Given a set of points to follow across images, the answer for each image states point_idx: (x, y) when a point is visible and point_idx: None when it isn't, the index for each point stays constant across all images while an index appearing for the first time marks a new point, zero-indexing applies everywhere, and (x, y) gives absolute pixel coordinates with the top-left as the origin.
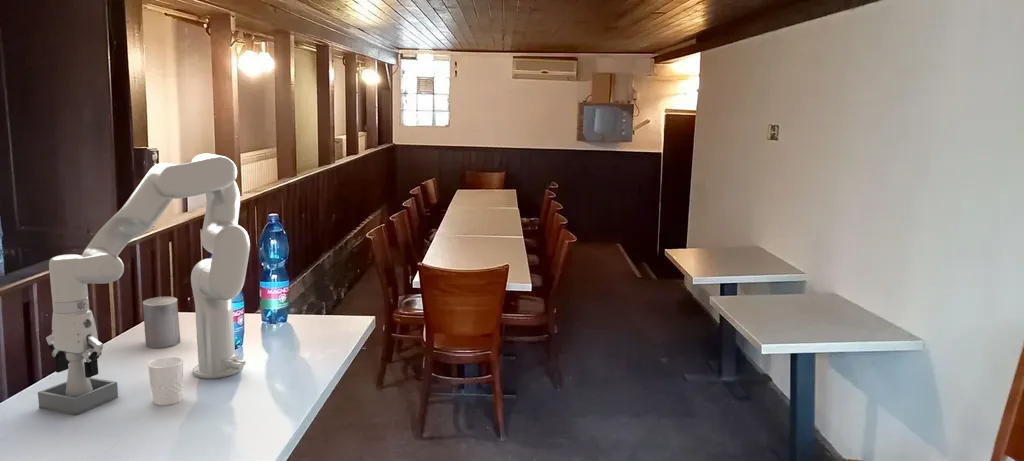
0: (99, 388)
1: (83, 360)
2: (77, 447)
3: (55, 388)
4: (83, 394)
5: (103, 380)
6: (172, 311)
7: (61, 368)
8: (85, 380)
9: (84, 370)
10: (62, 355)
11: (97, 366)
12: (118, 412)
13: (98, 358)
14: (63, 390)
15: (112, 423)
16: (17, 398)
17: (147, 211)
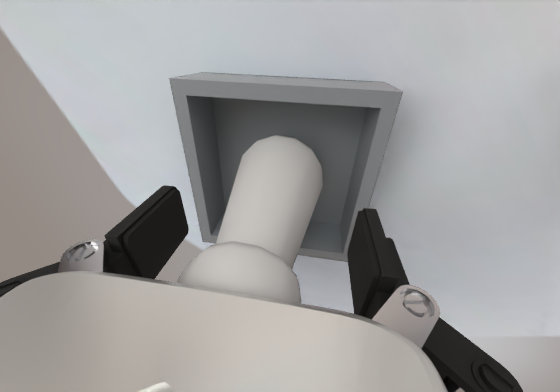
0: (368, 178)
1: (281, 254)
2: (458, 326)
3: (206, 198)
4: (350, 232)
5: (318, 96)
6: None
7: (179, 226)
8: (313, 206)
9: (300, 225)
10: (130, 261)
11: (383, 236)
12: (463, 190)
13: (426, 295)
14: (210, 166)
15: (482, 247)
16: (115, 180)
17: None
